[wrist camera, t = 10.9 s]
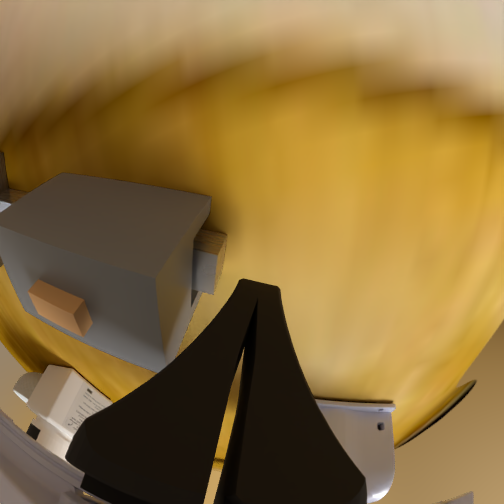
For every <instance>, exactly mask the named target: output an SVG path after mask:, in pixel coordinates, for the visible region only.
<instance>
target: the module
mask: <svg viewBox="0 0 504 504" xmlns="http://www.w3.org/2000/svg"><path fill="white" fill-rule="evenodd" d="M210 206H211V197H210V196H205V195H200V194H195V193H190V192H185V191H179V190H174V189H168V188H163V187H157V186H151V185H145V184H139V183H133V182H127V181H120V180H114V179H107V178H100V177H93V176H86V175H78V174H70V173H61V174H59V175H57V176H55V177H54V178H52V179H50V180H49V181H47V182H45V183H44V184H42V185H40V186H39V187H37V188H36V189H34V190H32V191H31V192H29V193H28V194H26V195H25V196H23V197H22V198H20V199H19V200H17V201H16V202H14V203H13V204H12V205H10V206H9V207H7V208H6V209H5V210H3V211H2V212H1V213H0V256H1V258H2V261H3V264H4V266H5V269H6V271H7V273H8V276H9V278H10V280H11V283H12V285H13V287H14V289H15V291H16V293H17V296H18V298H19V300H20V302H21V304H22V306H23V308H24V309H25V311H26V312H28V313H30V314H31V315H33V316H35V317H36V318H38V319H40V320H41V321H43V322H45V323H47V324H48V325H50V326H52V327H54V328H56V329H58V330H59V331H61V332H63V333H65V334H67V335H69V336H71V337H73V338H75V339H77V340H79V341H81V342H83V343H85V344H88V345H90V346H92V347H94V348H96V349H98V350H101V351H103V352H105V353H108V354H110V355H112V356H115V357H117V358H119V359H122V360H124V361H127V362H130V363H132V364H135V365H137V366H140V367H143V368H145V369H148V370H151V371H154V372H157V373H159V372H160V371H161V370H162V369H163V368H165V367H166V366H167V365H168V364H170V363H171V362H172V361H173V360H174V359H175V357H176V355H177V352H178V350H179V347H180V345H181V342H182V340H183V337H184V335H185V332H186V330H187V328H188V325H189V323H190V320H191V318H192V316H193V313H194V311H195V308H196V306H197V304H198V301H199V299H200V297H201V294H202V292H201V291H197V290H193V289H191V284H192V260H193V241H194V238H195V236H196V234H197V233H198V231H199V230H200V228H201V227H202V225H203V223H204V222H205V220H206V219H207V217H208V216H209V214H210Z"/></svg>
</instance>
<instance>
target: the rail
mask: <svg viewBox="0 0 504 504" xmlns="http://www.w3.org/2000/svg"><path fill="white" fill-rule="evenodd" d="M28 193H29V192H24V191H18V190H13V189H9V187H8V182H7V176H6V169H5V162H4V153H0V213H1V212H2V211H3V210H5V209H6V208H7V207H9V206H10V205H12V204H13V203H14V202H16V201H17V200H19V199H20V198H22V197H23V196H25V195H26V194H28ZM226 239H227V235H226V234H222V233H218V232H213V231H209V230H204V229H200V230H199V231H198V233H197V234H196V236H195V238H194V241H193V260H192V284H191V289H193V290H197V291H201V292H204V293H208V294H212V295H213V294H214V292H215V289H216V287H217V284H218V281H219V279H220V276H221V274H222V269H223V261H224V254H225V247H226ZM2 265H3V261H2V258H1V256H0V267H1V266H2Z"/></svg>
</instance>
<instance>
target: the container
mask: <svg viewBox="0 0 504 504" xmlns="http://www.w3.org/2000/svg"><path fill="white" fill-rule="evenodd" d="M111 404H112V401H111V400H109V399H108V398H107V397H105V396H104V395H103V394H102V393H100V392H99V391H98V390H97V389H96V388H94V387H93V386H92V385H91V384H90V383H89V382H87V381H86V380H85V379H84V378H83V377H82V376H81V375H79V374H78V373H77V372H76V371H75V370H74V369H72V368H66V367H61V366H55V365H48V367H47V368H46V370H45V372H44V373H43V375H42V377H41V378H40V380H39V382H38V384H37V385H36V387H35V389H34V391H33V392H32V394H31V396H30V398H29V400H28V402H27V407H28V408H29V409H30V410H31V411H32V412H34V413H35V414H36V415H37V418H36V420H35V419H33V420H32V422H31V424H30V426H29V429H28V431H27V432H26V434H28V435H29V436H30V437H32V438H33V439H34V440H36V441H37V442H38V443H40V444H41V445H42V446H44V447H45V448H47V449H48V450H49V451H51V452H52V453H54V454H55V455H57V456H58V457H60V458H61V459H63V460H65V461H66V459H65V455H66V452H67V450H68V448H69V445H70V443H71V440H72V438H73V436H74V434H75V433H76V431H77V430H78V428H79V427H80V425H81V424H82V423H83V421H84V420H85V419H86V418H87V417H89V416H91V415H93V414H95V413H97V412H99V411H100V410H102V409H104V408H106V407H108V406H110V405H111ZM66 462H67V461H66ZM68 463H69V462H68ZM69 464H70V463H69Z"/></svg>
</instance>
